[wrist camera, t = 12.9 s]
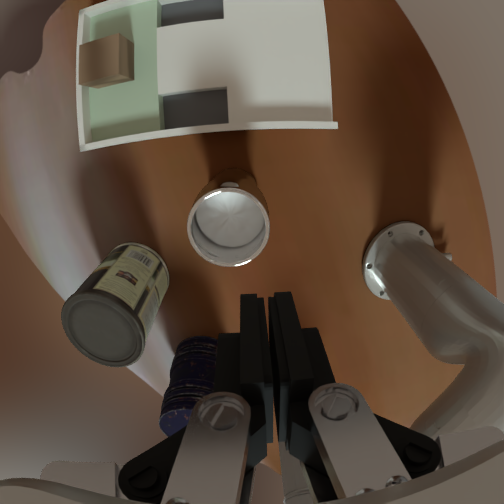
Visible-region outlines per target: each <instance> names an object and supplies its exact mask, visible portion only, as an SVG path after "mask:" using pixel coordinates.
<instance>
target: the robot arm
mask: <svg viewBox="0 0 504 504" xmlns="http://www.w3.org/2000/svg"><path fill="white" fill-rule="evenodd" d="M388 232H389V233H388ZM451 260H452V255H451V253H443V254H442V253H441V252H440V251H438V250H437V249H436V248H434V243H433V240H432V238H431V236H430V234H429V233H428V232H427V231H426V229H424V228H423V227H422V226H420V225H418V224H416V223H414V222H409V221H401V222H397V223H393V224H391V225H389V226H387V227H386V228H384V229H383V230H381V231H380V232H379V233H378V234H377V235H376V236H375V237H374V239H373V240H372V241H371V243H370V244H369V246H368V248H367V250H366V252H365V255H364V258H363V265H362V272H363V277H364V281H365V283H366V285H367V286H368V288H369V289H370V291H371V292H373V293H374V294H375V295H376V296H378V297H380V298H383V299H388V300H391V301H392V302H393V304H394V305H395V306H396V308H397V309H398V310H399V312H400V313H401V314H402V316H403V317H404V318H405V320H406V321H407V322H408V324H409V325H410V327H411V328H412V329H413V331H414V332H415V333H416V335H417V336H418V338H419V339H420V341H421V342H422V343H423V345H424V346H425V347H426V349H427V350H428V352H429V353H430V354H431V355H432V356H433V357H434V358H436V359H438V360H439V361H442V362H445V363H449V364H465V366H464V368H463V369H462V371H461V372H460V373H459V374H458V375H457V377H456V378H455V380H454V381H453V382H452V383H451V384H450V385H449V386H448V387H447V388H446V389H445V390H444V392H443V393H442V394H441V395H440V396H439V397H438V398H437V399H436V400H435V401H434V402H433V403H432V404H431V405H430V406H429V407H428V408H427V409H426V410H425V411H424V412H423V413H422V414H421V415H420V416H419V417H418V418H417V419H416V420H415V421H414V423H413V424H412V425H411V427H410V429H409V428H407V427H404V426H402V425H399V424H397V423H395V422H392V421H390V420H388V419H385V418H383V417H381V416H378V415H376V414H374V413H373V412H372V411H371V409H370V407H369V406H368V404H367V402H366V401H365V399H364V397H363V396H362V395H361V393H360V392H359V391H358V390H357V389H355V388H354V387H352V386H349V385H346V384H343V383H336V382H335V379H334V376H333V373H332V369H331V366H330V363H329V360H328V357H327V354H326V351H325V348H324V346H323V343H322V340H321V337H320V334H319V331H318V329H317V328H316V327H315V328H304V329H301V326H300V323H299V319H298V315H297V312H296V308H295V304H294V301H293V297H292V294H291V292H275V293H274V297H268V309H269V341H268V333H267V324H266V316H265V307H264V299H263V298H257V294H241V296H240V333H221V334H219V337H218V346H217V356H216V367H215V378H214V389H213V393H211V394H208V395H206V396H204V397H202V398H201V399H200V400H199V401H198V402H197V403H196V404H195V406H194V408H193V410H192V413H191V416H190V419H189V421H188V424H187V425H186V426H185V427H183V428H182V429H180V430H179V431H177V432H176V433H174V434H173V435H171V436H170V437H168V438H167V439H165V440H163V441H162V442H160V443H158V444H157V445H155V446H154V447H152V448H150V449H149V450H147V451H145V452H144V453H142V454H140V455H139V456H137V457H135V458H133V459H132V460H130V461H129V462H127V463H126V464H125V465H117V464H116V463H115V462H69V461H54V462H51V463H49V464H47V465H46V466H45V467H44V469H43V470H42V473H41V476H40V479H35V478H11V479H5V480H0V504H251V497H252V491H253V485H254V477H255V471H256V465H257V464H258V463H259V462H260V461H261V460H262V459H264V458H265V457H266V456H267V443H273V397H274V407H275V416H276V425H277V435H278V442H285V447H286V450H289V454H291V455H292V456H294V457H295V458H297V459H299V460H300V466H301V469H302V472H303V475H304V477H305V480H306V483H307V486H308V489H309V492H310V494H311V497H312V500H313V503H314V504H504V304H503V303H502V302H500V301H499V300H498V299H497V298H496V297H494V296H493V295H492V294H491V293H489V292H488V291H487V290H486V289H485V288H483V287H482V286H481V285H480V284H479V283H477V282H476V281H475V280H474V279H473V278H471V277H470V276H469V275H468V274H466V273H465V272H464V271H463V270H462V269H460V268H459V267H458V266H456V265H455V264H454V263H453V262H451Z"/></svg>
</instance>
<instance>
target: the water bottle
mask: <svg viewBox="0 0 504 504" xmlns="http://www.w3.org/2000/svg"><path fill="white" fill-rule="evenodd" d="M278 443H279V452H280V462H281V471H282V481H283V490H284V497H285V498H284V500H283V502H284V504H314V503H313V500H312V497H311V494H310V492H309V489H308V486H307V483H306V480H305V477H304V475H303V472H302V469H301V466H300V460H299V459H297V458H295V457H294V456H292V455H291V454H289V450H286V447H285V442H278Z"/></svg>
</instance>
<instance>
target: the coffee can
mask: <svg viewBox="0 0 504 504" xmlns="http://www.w3.org/2000/svg"><path fill="white" fill-rule="evenodd" d="M168 286H169V273H168V269H167V266H166V264H165V262H164V261H163V259H162V258H161V257H160V256H159V254H158V253H156V252H155V251H154V250H152V249H151V248H149V247H147V246H145V245H143V244H139V243H133V242H131V243H124V244H121V245H119V246H117V247H115V248H114V249H113V250H112V251H111V252H110V253H109V255H108V256H107V257H106V258H105V259H104V260H103V262H102V263H101V264H100V265H99V266H98V267H97V268H96V269H95V270H94V271H93V273H92V274H91V275H90V276H89V277H88V278H87V279H86V280H85V281H84V283H83V284H82V285H81V286H80V287H79V288H78V290H77V291H76V292H75V293H74V294H73V295H71V296H70V297H69V298H68V299H67V300H66V302H65V303H64V305H63V308H62V312H61V320H62V325H63V328H64V330H65V333H66V335H67V337H68V338H69V340H70V341H71V343H72V344H73V345H74V346H75V347H76V348H77V349H78V350H79V351H80V352H81V353H82V354H84V355H85V356H86V357H88V358H89V359H91V360H93V361H95V362H97V363H99V364H102V365H106V366H110V367H125V366H129V365H131V364H133V363H135V362H136V361H137V360H139V358H140V357H141V355H142V353H143V351H144V347H145V342H146V340H147V337H148V334H149V332H150V329H151V327H152V324H153V322H154V319H155V317H156V314H157V312H158V309H159V307H160V304H161V302H162V299H163V297H164V295H165V293H166V291H167V289H168Z"/></svg>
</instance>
